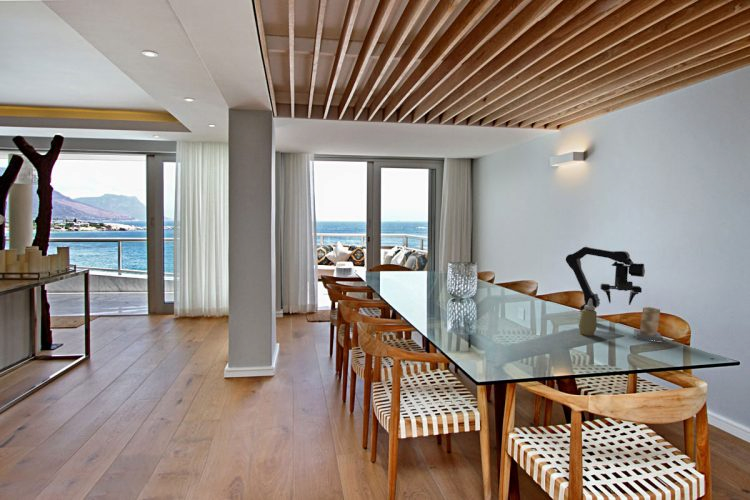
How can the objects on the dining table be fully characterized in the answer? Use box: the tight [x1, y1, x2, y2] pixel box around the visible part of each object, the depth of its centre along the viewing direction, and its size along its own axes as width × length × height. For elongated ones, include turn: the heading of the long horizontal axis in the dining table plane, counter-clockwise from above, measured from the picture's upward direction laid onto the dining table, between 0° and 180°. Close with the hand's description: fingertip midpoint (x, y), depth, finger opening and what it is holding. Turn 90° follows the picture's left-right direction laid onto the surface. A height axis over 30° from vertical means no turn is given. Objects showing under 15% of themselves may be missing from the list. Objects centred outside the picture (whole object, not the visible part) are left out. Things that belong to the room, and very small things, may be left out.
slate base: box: [633, 328, 664, 342], centre depth 224 cm, size 11×11×2 cm
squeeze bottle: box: [578, 299, 597, 337], centre depth 223 cm, size 8×8×18 cm
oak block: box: [639, 306, 661, 335], centre depth 223 cm, size 6×6×12 cm
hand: (619, 304), depth 239 cm, fingers open, 9 cm apart
